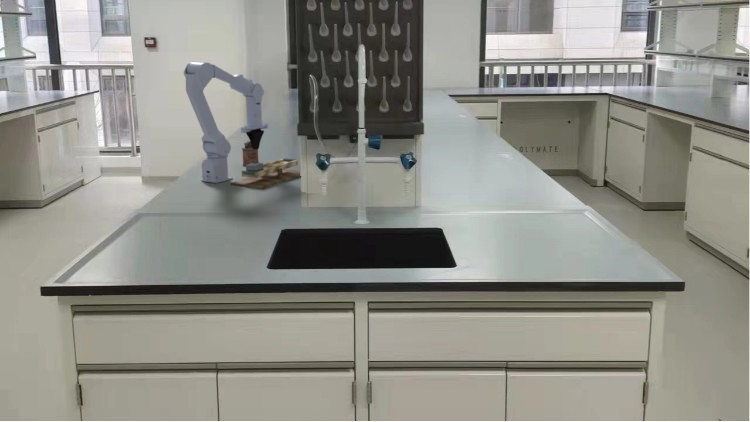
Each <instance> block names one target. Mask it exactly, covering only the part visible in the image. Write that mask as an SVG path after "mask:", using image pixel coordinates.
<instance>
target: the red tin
mask: <svg viewBox="0 0 750 422" xmlns="http://www.w3.org/2000/svg"><path fill="white" fill-rule="evenodd" d="M243 144H244V147H241V151H242V167H246V165H247V164H251V163H254V162H255V163H260V162H259V149H253V148H252V145H251V142H250V140H248V141H246V142H244V143H243Z"/></svg>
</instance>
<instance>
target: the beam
mask: <svg viewBox="0 0 750 422" xmlns="http://www.w3.org/2000/svg"><path fill="white" fill-rule="evenodd" d="M298 163H299V162H298V159H296V158H289V157H288V158H287V157H286V158H285V157H284V158H281V159H277V160H274V161H271V162H267V163H263V170H261V171H258V172H256V171H248V170H246V169H243V170H241V177H244V178H245V177H246V178H249V177H251V178H259V177H262V176H265V175H268V174H271V173H275V172H277V169H280V168H282V170H284V169H285V170H288V169H291V168H293V167H296V166H298Z"/></svg>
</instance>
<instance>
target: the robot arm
mask: <svg viewBox="0 0 750 422" xmlns="http://www.w3.org/2000/svg"><path fill="white" fill-rule="evenodd" d="M183 75H184V77H185V92H186V95H187V97H188V99H189V102H190V104H191V107H192V109H193V111H194V113H195V116H196V119H197V121H198V123H199V126H200V128H201V131H202V132H203V136H202V137H201V142H202V149H203V152H204V153H205V155H206V158H205V159H203V161H202V163H201V175H202V177H201V178H202V179H200V181H201V182H206V183H207V182H208V183H215V184H218V183H222V182H226V181H229V180H233V179H234V177H232V176H229V170H228V169H229V168H228V166H229V165H228V157H229V154H230V153H231V148H232V147H231V143H230V142H229V141H228V140H227V138H226V137H225V134H224V133H222V132H221V131H220V129H219V128H218V126H217V123H216V121H215V119H214V118H215V117H214V115H213V114H212V111H211V108H210V106H209V103H208V101H207V98H206V96H205V94H204V90H205V89H206V87H207V86H208V84H209V83H210V82H211V81H212V79H213V78H214V79H216V80H220V81H223V82H224V83H227V84H229V87H230V89H232V90H234V91H237V92H238V93H240V94H242V95H243V97H245V102H246V104H245V105H246V106H245V107H246V125H245V126H243V127H240V133H244V134H246V135H247V137H248V139H249V141H250V142H251V145H252V148H253V149H258V150H259V148H260V145H261V140H262V137H263V135H264V133H265V129H269V123H266V122H265V123H263V115H262V114H263V113H262V101H263V96H264V94H265V89H264V88H263V87H262V85H261V84H260V83H258V82H253V80H252V79H250V78H249V79H247V78H246V77H244V75H243V74H242V73H238V74H234V75H232V74H230V73H229V72H227V71H225V70H224V69H222V68H220V67H219V66H217V65H216V64H211V62H199V61H198V62H197V61H191V62H188V63H187V64H186V66H185V68H184V70H183Z"/></svg>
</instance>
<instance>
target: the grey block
mask: <svg viewBox="0 0 750 422" xmlns="http://www.w3.org/2000/svg"><path fill="white" fill-rule="evenodd" d="M263 164H264V163H263V162H259V163H255V162H254V163H251V164H247V165H246V166H245V170H248V171H256V172H258V171H261V170H263Z"/></svg>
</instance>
